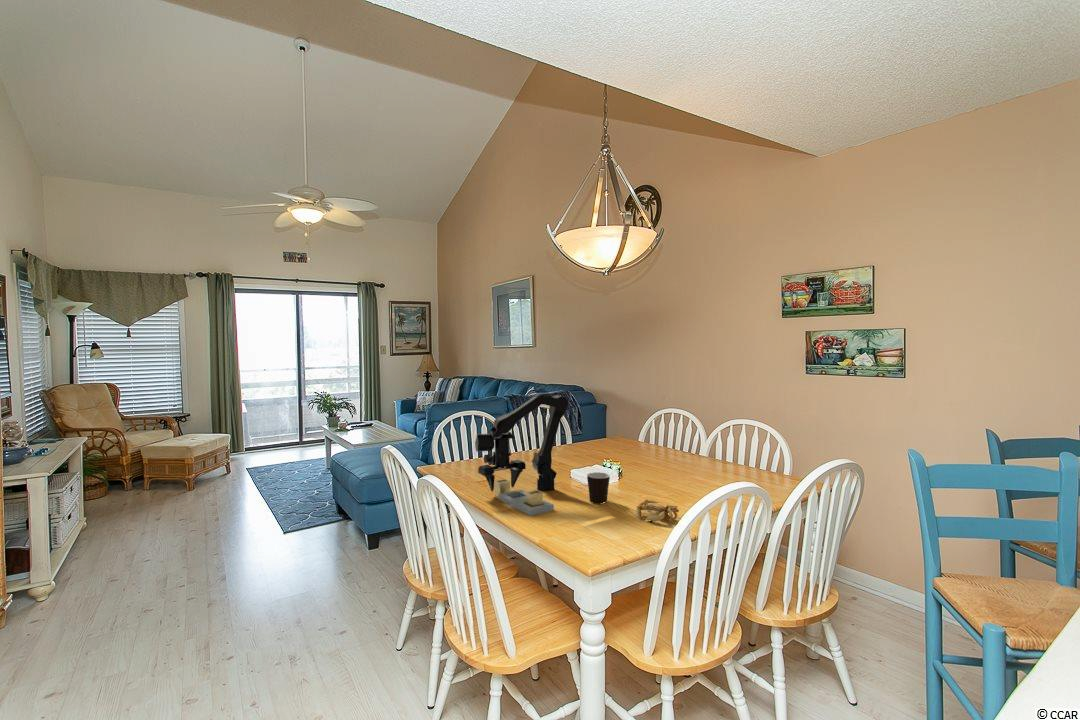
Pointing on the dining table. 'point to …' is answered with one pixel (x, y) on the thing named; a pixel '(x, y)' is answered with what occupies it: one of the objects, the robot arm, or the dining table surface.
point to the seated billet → (534, 498)
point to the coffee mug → (598, 486)
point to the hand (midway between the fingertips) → (502, 489)
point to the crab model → (656, 507)
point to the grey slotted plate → (524, 503)
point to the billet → (502, 486)
